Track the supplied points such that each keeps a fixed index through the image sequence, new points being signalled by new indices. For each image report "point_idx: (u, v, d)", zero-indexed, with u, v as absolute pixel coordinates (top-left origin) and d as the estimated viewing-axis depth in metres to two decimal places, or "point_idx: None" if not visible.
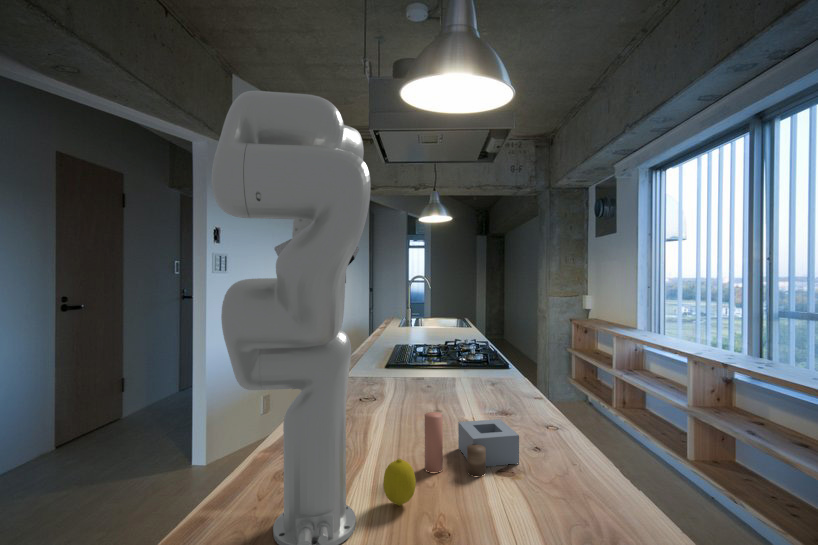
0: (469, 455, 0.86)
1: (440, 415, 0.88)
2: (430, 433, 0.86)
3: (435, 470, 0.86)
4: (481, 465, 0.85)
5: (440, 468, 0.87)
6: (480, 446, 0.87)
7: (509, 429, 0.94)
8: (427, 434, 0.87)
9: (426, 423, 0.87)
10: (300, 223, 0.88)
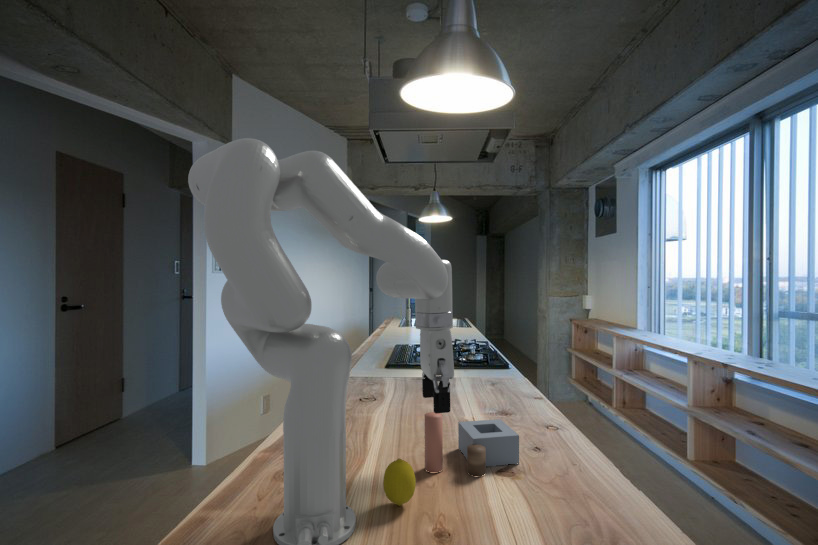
0: (469, 455, 0.86)
1: (440, 415, 0.88)
2: (430, 433, 0.86)
3: (435, 470, 0.86)
4: (481, 465, 0.85)
5: (440, 468, 0.87)
6: (480, 446, 0.87)
7: (509, 429, 0.94)
8: (427, 434, 0.87)
9: (426, 423, 0.87)
10: None
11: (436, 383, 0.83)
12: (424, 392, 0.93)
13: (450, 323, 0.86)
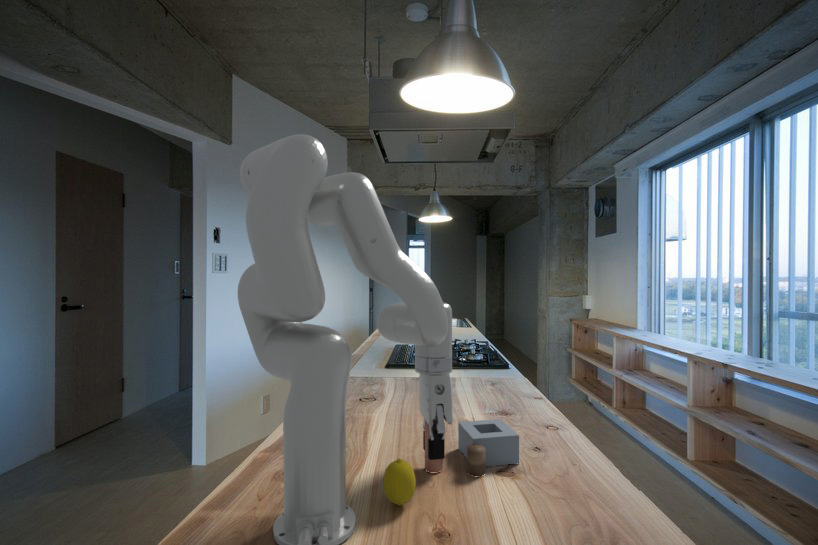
0: (469, 455, 0.86)
1: None
2: None
3: (435, 470, 0.86)
4: (481, 465, 0.85)
5: (440, 468, 0.87)
6: (480, 446, 0.87)
7: (509, 429, 0.94)
8: (427, 434, 0.87)
9: (426, 423, 0.87)
10: None
11: (432, 432, 0.85)
12: None
13: (449, 367, 0.86)
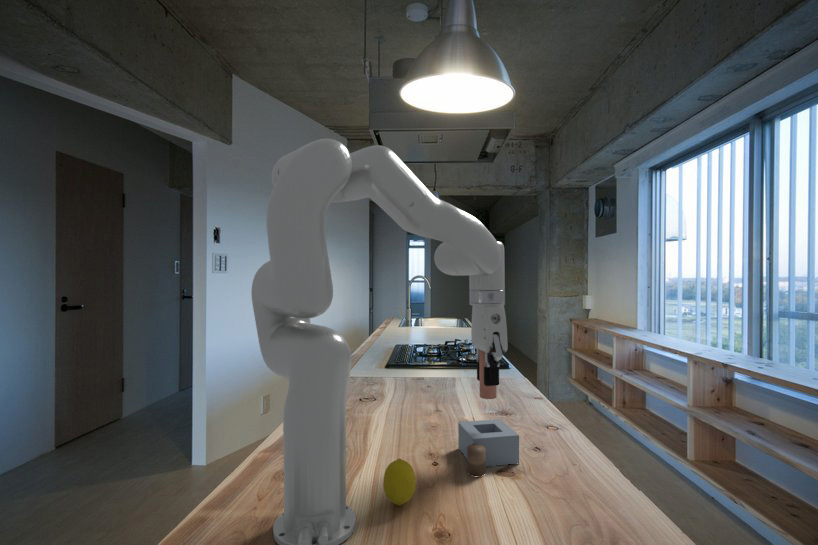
0: (469, 455, 0.86)
1: None
2: None
3: (490, 396, 0.93)
4: (481, 465, 0.85)
5: (495, 394, 0.93)
6: (480, 446, 0.87)
7: (509, 429, 0.94)
8: (483, 362, 0.93)
9: (481, 353, 0.93)
10: None
11: (488, 359, 0.91)
12: None
13: (503, 300, 0.92)
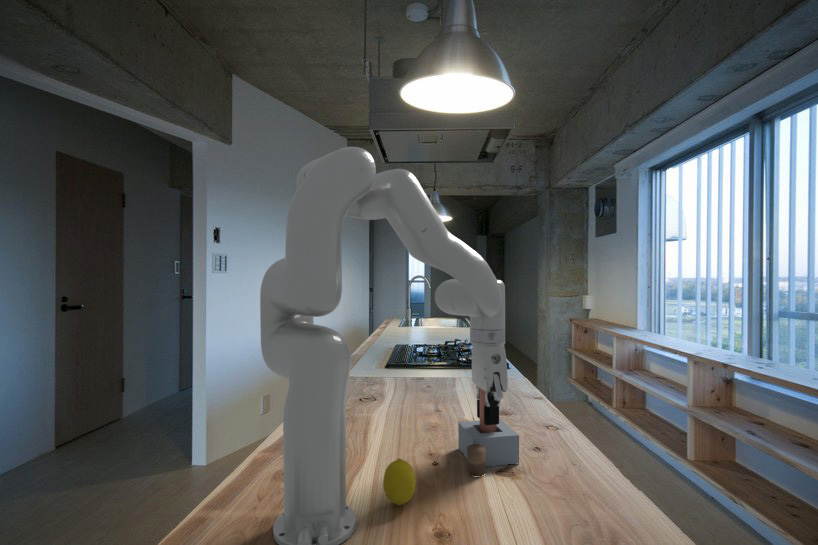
0: (469, 455, 0.86)
1: None
2: None
3: None
4: (481, 465, 0.85)
5: None
6: (480, 446, 0.87)
7: (509, 429, 0.94)
8: (483, 401, 0.93)
9: (481, 391, 0.94)
10: None
11: (488, 399, 0.91)
12: (479, 413, 0.96)
13: (503, 339, 0.92)
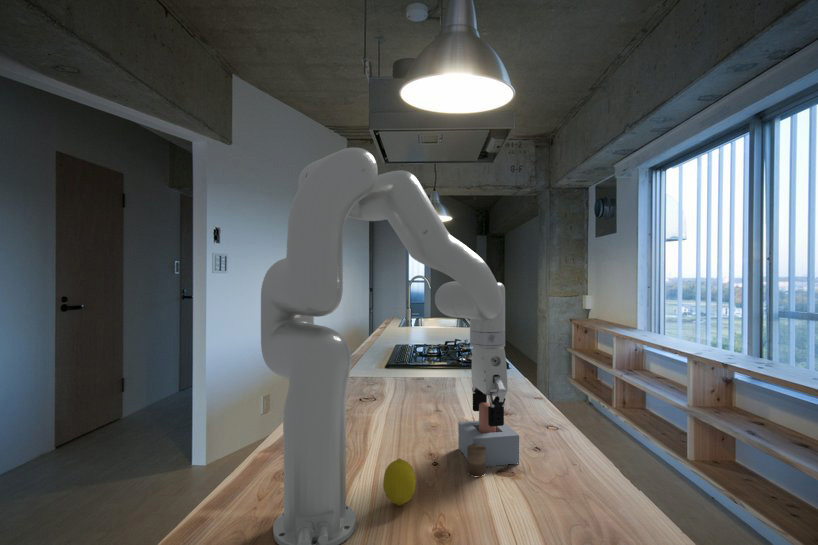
0: (469, 455, 0.86)
1: None
2: (485, 421, 0.93)
3: None
4: (481, 465, 0.85)
5: None
6: (480, 446, 0.87)
7: (509, 429, 0.94)
8: (482, 422, 0.93)
9: (481, 412, 0.94)
10: None
11: (491, 398, 0.89)
12: (474, 406, 0.99)
13: (503, 342, 0.92)
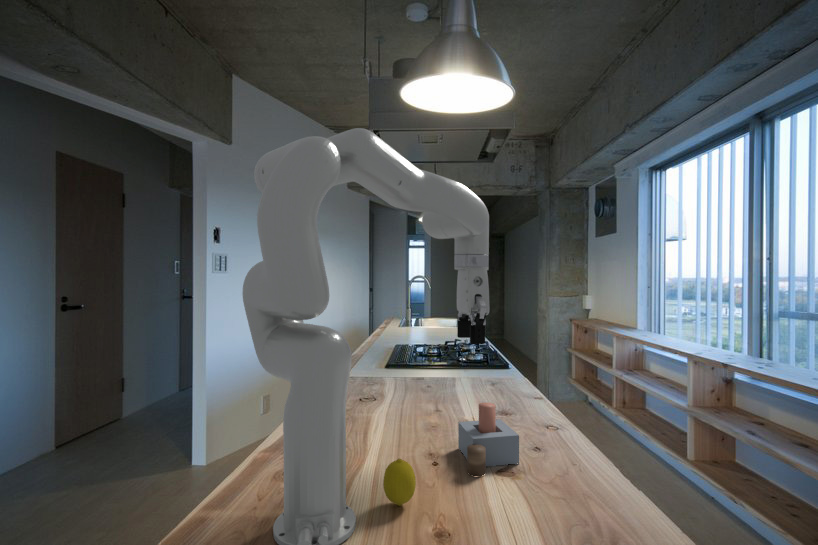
0: (469, 455, 0.86)
1: (493, 405, 0.95)
2: (485, 421, 0.93)
3: None
4: (481, 465, 0.85)
5: None
6: (480, 446, 0.87)
7: (509, 429, 0.94)
8: (482, 422, 0.93)
9: (481, 412, 0.94)
10: None
11: (473, 316, 0.91)
12: (459, 332, 1.01)
13: (486, 265, 0.95)
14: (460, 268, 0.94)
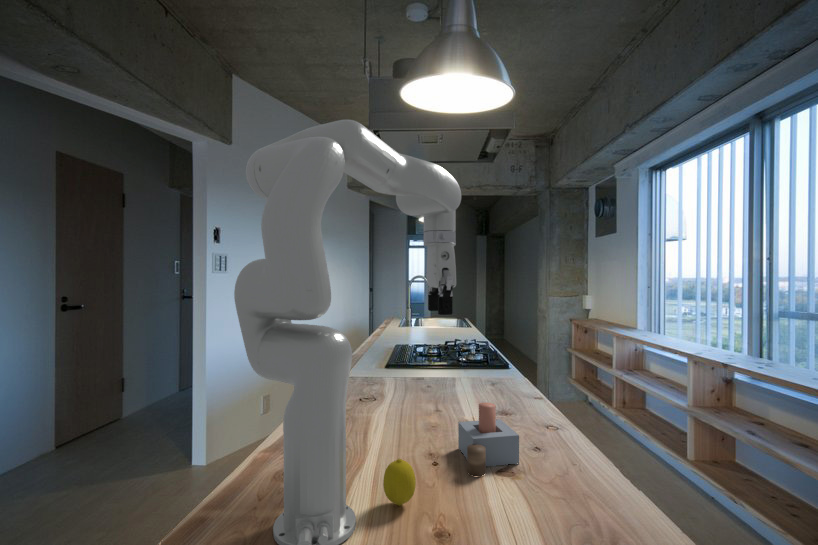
0: (469, 455, 0.86)
1: (493, 405, 0.95)
2: (485, 421, 0.93)
3: None
4: (481, 465, 0.85)
5: None
6: (480, 446, 0.87)
7: (509, 429, 0.94)
8: (482, 422, 0.93)
9: (481, 412, 0.94)
10: None
11: (441, 288, 0.97)
12: (429, 306, 1.07)
13: (453, 240, 1.01)
14: (428, 244, 1.00)
